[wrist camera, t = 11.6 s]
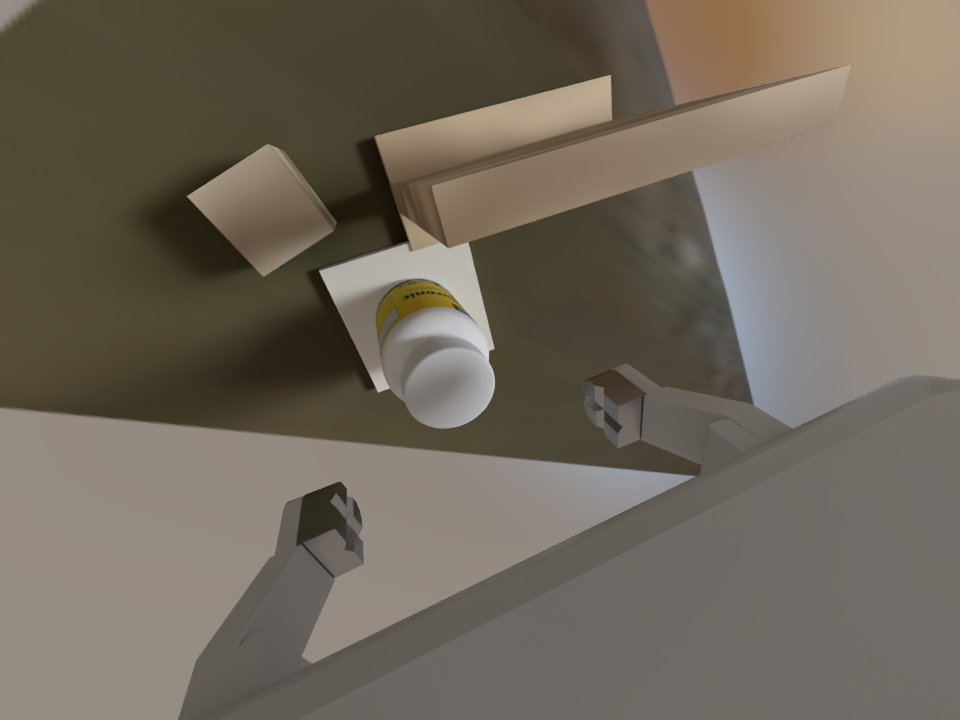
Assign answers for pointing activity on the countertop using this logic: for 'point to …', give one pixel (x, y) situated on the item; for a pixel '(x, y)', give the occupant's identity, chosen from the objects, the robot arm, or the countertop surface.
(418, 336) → the supplement bottle
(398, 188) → the tan t-shaped stand
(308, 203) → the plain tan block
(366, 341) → the coaster
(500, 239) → the countertop surface
